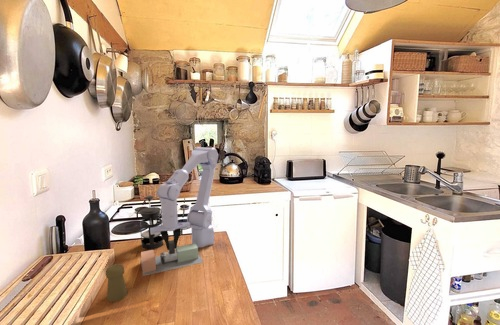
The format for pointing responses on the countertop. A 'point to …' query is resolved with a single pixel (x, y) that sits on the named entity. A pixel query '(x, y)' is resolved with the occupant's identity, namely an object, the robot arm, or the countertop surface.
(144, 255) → the socket block
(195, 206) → the robot arm
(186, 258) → the outer sleeve
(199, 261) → the base board
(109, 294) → the olive green pepper mill
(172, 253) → the sliding bolt
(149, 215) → the french press
